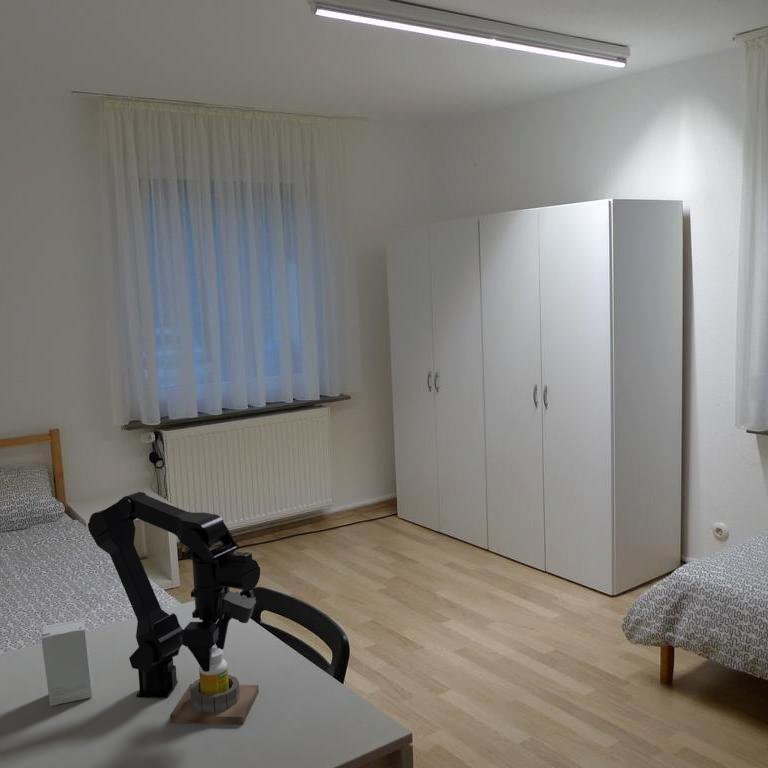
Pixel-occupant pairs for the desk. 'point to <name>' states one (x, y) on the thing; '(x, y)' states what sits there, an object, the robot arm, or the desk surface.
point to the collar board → (217, 716)
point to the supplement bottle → (215, 674)
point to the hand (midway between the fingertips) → (213, 659)
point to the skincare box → (67, 662)
